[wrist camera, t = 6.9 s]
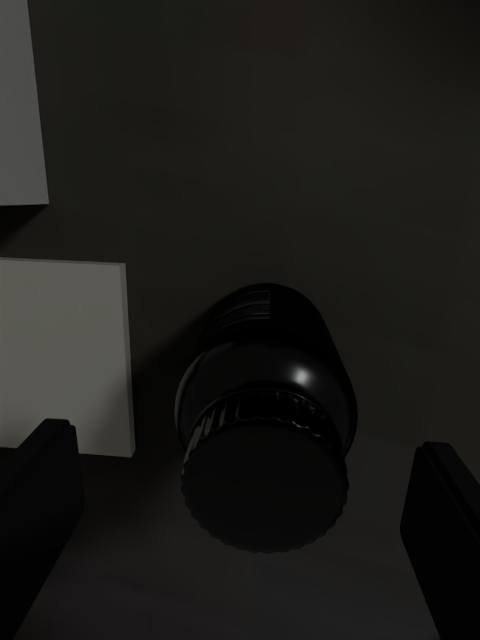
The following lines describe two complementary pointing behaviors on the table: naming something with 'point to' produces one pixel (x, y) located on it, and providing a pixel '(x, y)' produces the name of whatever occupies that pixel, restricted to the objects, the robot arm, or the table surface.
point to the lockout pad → (66, 352)
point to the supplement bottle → (265, 422)
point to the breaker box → (19, 112)
